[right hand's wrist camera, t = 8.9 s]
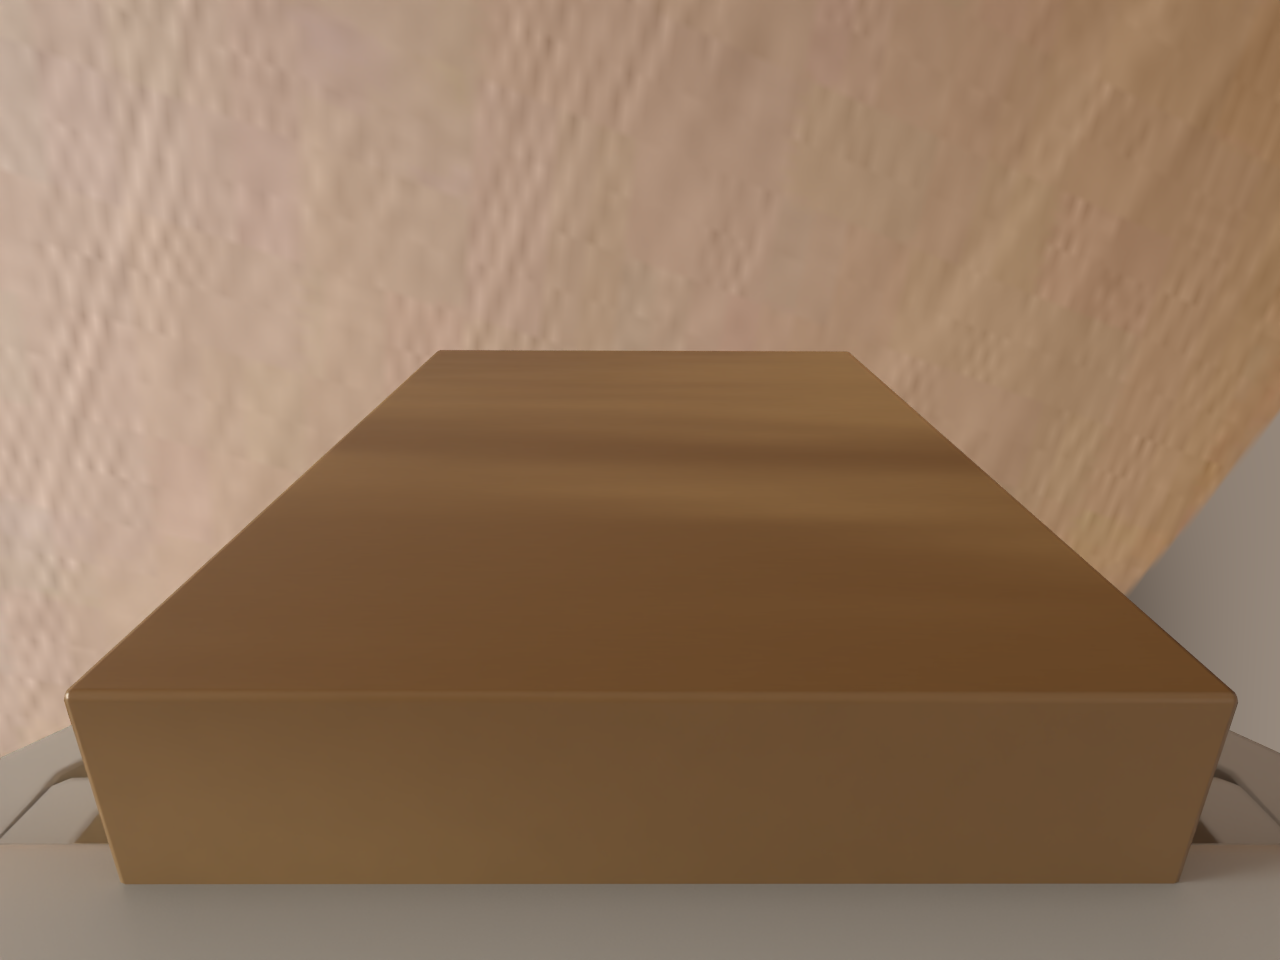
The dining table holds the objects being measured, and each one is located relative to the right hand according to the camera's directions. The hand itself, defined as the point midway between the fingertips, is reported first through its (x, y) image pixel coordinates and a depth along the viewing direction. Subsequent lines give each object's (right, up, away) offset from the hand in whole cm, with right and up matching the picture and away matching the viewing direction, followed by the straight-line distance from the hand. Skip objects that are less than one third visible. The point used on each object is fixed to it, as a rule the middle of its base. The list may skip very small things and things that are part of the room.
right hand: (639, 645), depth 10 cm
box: (0, -8, +7) cm, 10 cm away
